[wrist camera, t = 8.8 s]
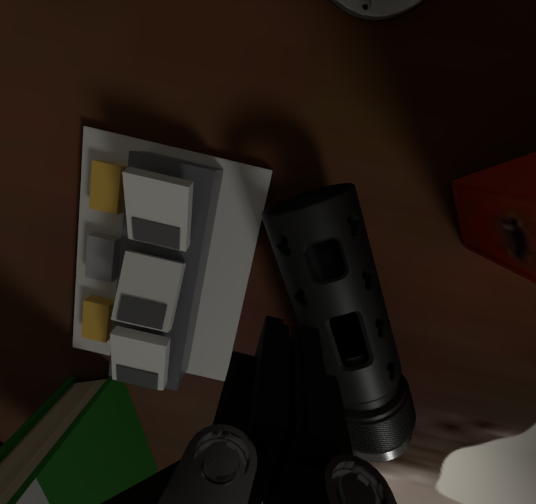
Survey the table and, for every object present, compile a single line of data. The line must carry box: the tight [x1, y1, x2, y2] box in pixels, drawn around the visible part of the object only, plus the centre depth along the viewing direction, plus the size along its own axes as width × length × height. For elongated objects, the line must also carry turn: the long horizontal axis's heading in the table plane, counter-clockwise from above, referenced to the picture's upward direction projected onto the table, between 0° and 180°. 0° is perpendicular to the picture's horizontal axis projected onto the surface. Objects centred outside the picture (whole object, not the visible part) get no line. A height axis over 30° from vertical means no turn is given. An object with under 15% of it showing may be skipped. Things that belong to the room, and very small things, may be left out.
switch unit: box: [73, 126, 273, 391], centre depth 35 cm, size 27×20×6 cm
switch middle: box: [111, 250, 186, 333], centre depth 31 cm, size 7×6×1 cm
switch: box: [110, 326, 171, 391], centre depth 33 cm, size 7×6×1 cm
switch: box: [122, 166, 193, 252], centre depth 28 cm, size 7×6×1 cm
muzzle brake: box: [261, 183, 416, 462], centre depth 33 cm, size 10×28×10 cm, turn 19°
